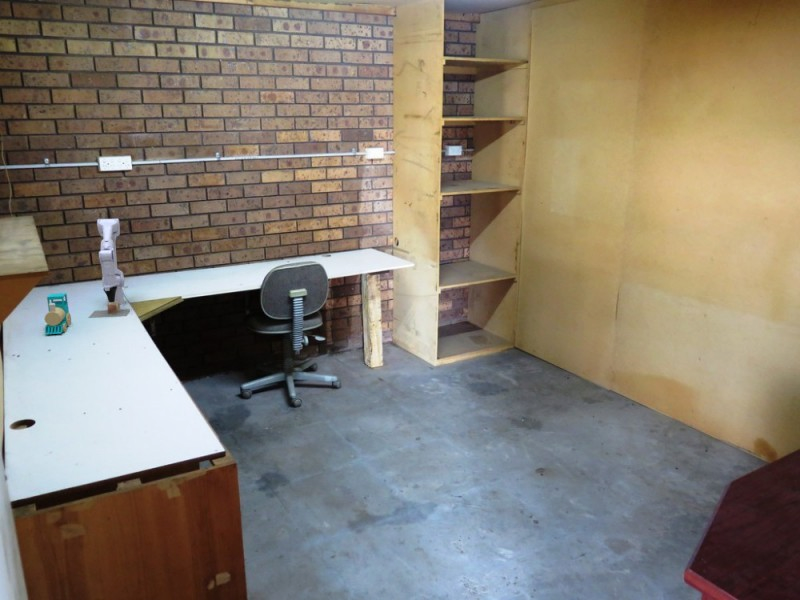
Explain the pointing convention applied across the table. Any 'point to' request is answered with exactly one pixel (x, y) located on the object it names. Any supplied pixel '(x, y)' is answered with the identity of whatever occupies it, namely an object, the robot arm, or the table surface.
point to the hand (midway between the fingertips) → (111, 302)
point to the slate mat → (105, 313)
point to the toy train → (57, 314)
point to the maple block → (113, 307)
